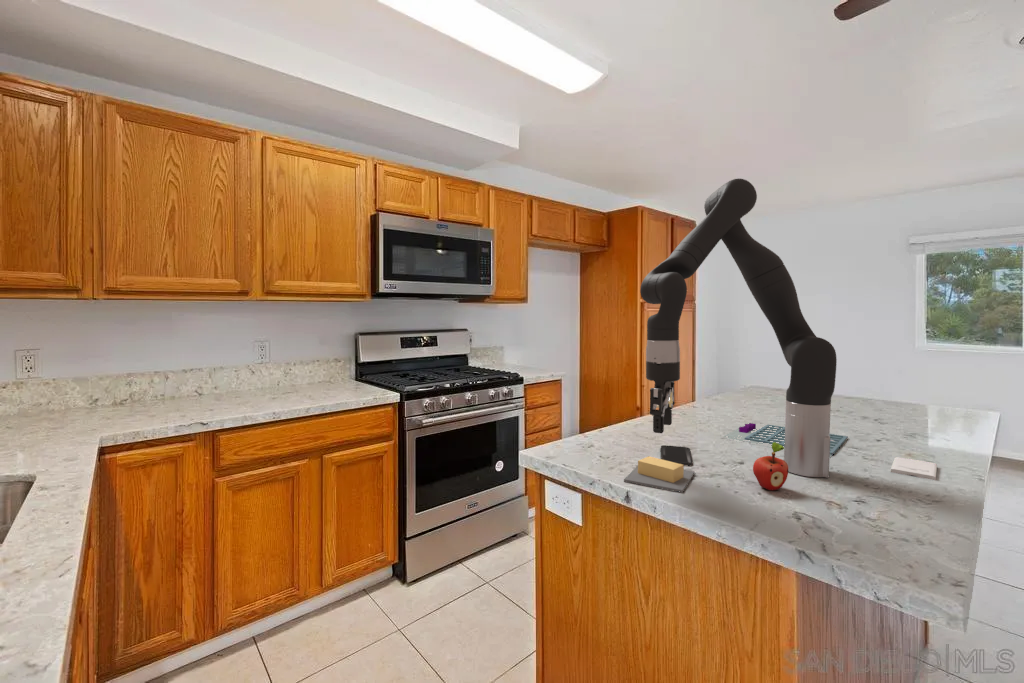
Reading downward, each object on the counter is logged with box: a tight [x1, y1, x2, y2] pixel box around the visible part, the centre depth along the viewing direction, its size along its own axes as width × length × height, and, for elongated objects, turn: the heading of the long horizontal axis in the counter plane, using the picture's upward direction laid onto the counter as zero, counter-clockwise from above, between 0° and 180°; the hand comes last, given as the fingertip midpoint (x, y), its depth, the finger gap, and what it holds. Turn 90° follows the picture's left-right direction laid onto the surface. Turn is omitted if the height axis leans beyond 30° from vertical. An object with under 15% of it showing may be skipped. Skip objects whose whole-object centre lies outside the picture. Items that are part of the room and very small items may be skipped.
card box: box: [637, 455, 685, 483], centre depth 109 cm, size 5×9×3 cm, turn 44°
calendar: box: [723, 422, 848, 459], centre depth 144 cm, size 27×29×2 cm
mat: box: [623, 465, 696, 493], centre depth 109 cm, size 13×14×1 cm
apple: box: [752, 442, 789, 491], centre depth 103 cm, size 8×7×10 cm
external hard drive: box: [890, 456, 938, 481], centre depth 115 cm, size 2×8×12 cm
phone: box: [659, 444, 693, 466], centre depth 126 cm, size 8×1×15 cm
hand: (662, 428), depth 108 cm, fingers open, 8 cm apart
